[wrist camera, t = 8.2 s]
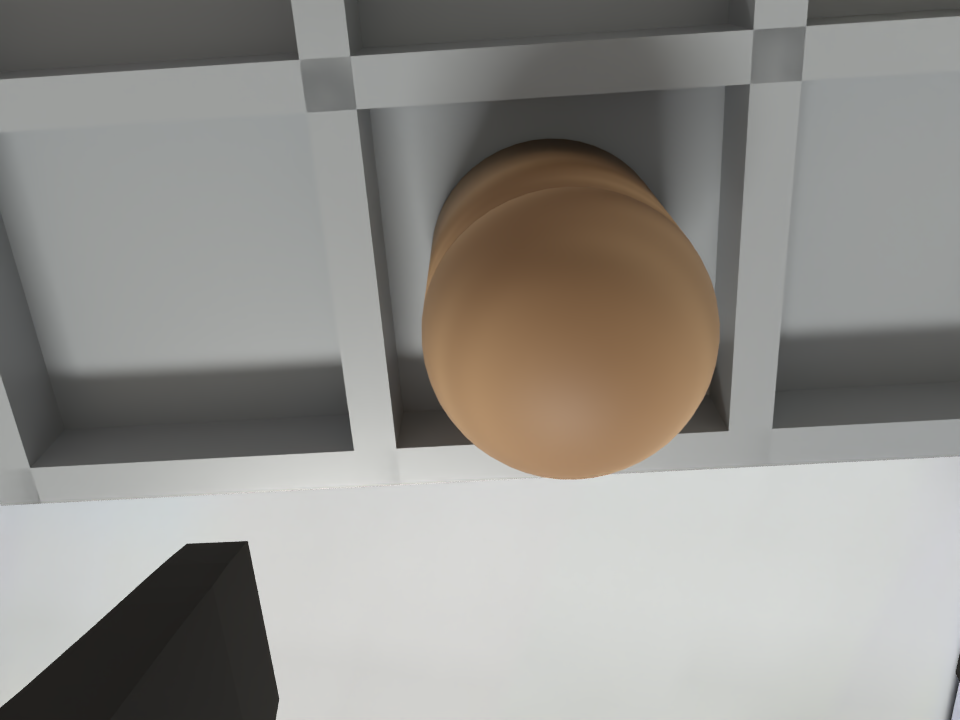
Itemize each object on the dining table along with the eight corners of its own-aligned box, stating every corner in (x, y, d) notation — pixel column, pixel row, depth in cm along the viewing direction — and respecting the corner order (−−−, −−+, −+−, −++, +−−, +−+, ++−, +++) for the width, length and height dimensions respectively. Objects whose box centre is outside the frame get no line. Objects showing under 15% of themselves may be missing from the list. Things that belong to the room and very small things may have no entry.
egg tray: (1314, -557, 12) (1462, -651, 10) (1080, 398, 18) (1146, 446, 16) (-223, -428, 13) (-341, -494, 11) (48, 453, 19) (1, 505, 17)
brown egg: (672, 133, 15) (775, 222, 10) (660, 358, 17) (744, 534, 12) (423, 143, 15) (398, 239, 10) (438, 368, 17) (424, 547, 12)
